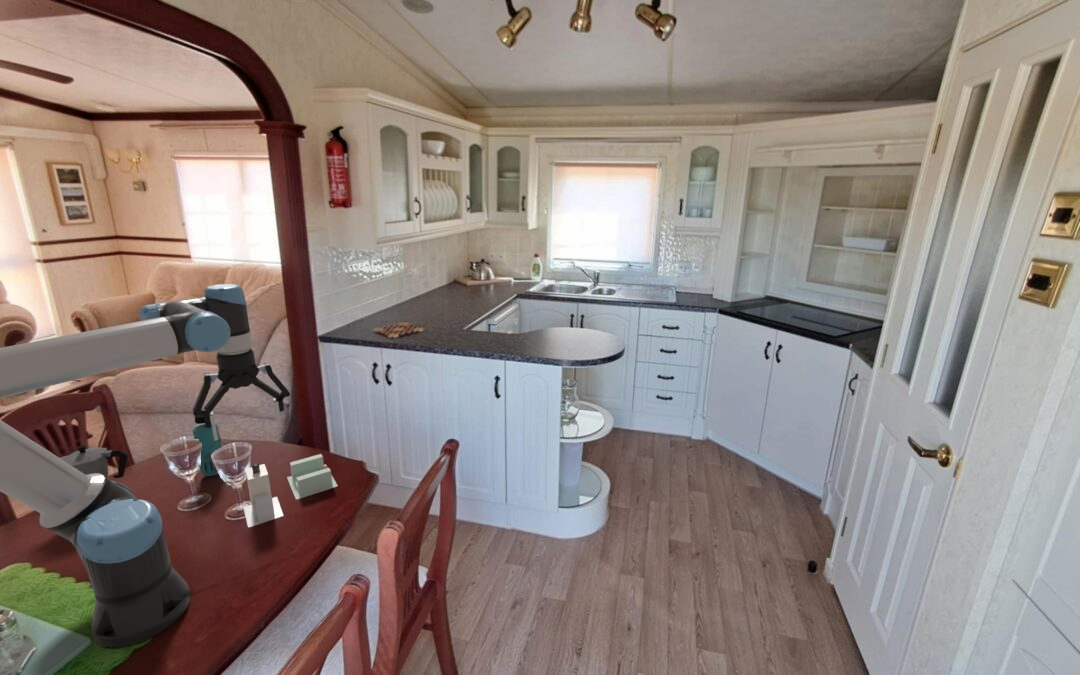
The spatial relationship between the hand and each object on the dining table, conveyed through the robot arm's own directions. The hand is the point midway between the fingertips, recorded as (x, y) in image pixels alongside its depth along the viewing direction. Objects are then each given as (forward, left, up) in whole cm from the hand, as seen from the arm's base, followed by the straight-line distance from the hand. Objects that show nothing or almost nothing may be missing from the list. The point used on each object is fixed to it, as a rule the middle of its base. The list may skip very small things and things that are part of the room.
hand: (248, 430), depth 118 cm
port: (+7, -14, -25) cm, 29 cm away
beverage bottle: (+29, +9, -25) cm, 39 cm away
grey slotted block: (0, 0, -25) cm, 25 cm away
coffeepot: (+29, +34, -25) cm, 51 cm away
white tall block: (0, 0, -24) cm, 24 cm away
